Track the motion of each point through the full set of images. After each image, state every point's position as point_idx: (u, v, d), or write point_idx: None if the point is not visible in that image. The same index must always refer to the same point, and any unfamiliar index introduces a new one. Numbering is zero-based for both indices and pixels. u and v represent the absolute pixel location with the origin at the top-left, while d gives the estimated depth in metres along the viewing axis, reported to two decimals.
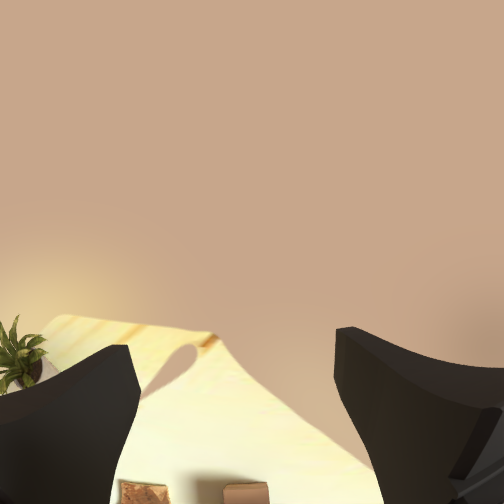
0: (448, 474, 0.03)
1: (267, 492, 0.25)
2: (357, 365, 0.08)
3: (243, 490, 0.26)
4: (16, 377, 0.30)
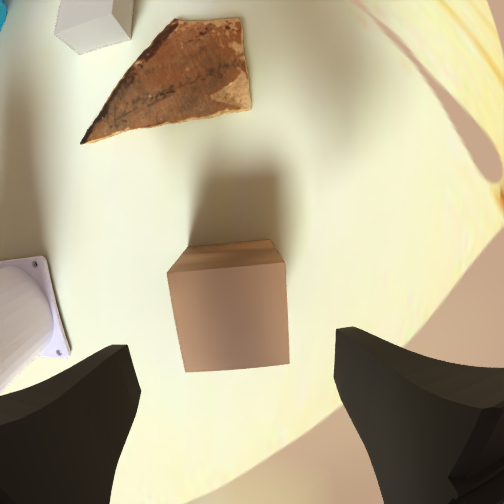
0: (448, 474, 0.03)
1: (277, 362, 0.14)
2: (357, 365, 0.08)
3: (284, 312, 0.13)
4: None
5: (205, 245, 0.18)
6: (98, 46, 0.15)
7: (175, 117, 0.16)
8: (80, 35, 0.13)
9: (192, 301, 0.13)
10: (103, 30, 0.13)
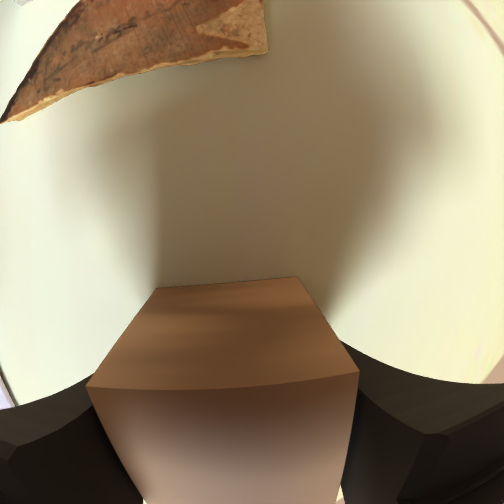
0: (397, 495, 0.03)
1: None
2: None
3: (342, 451, 0.05)
4: None
5: (186, 287, 0.10)
6: None
7: (134, 64, 0.08)
8: None
9: (147, 439, 0.05)
10: None
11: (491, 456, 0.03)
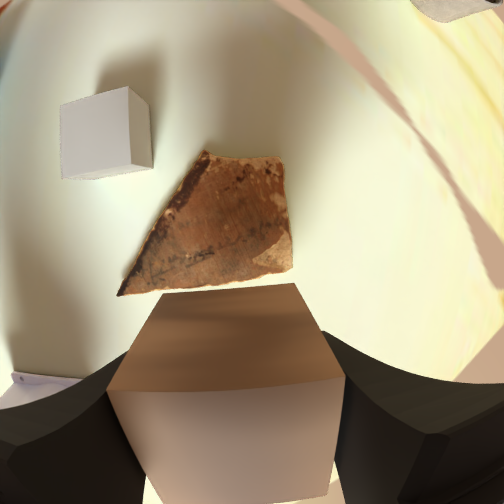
0: (397, 495, 0.03)
1: (308, 496, 0.07)
2: None
3: (331, 444, 0.06)
4: None
5: (190, 292, 0.11)
6: (115, 174, 0.16)
7: (217, 280, 0.17)
8: (94, 174, 0.14)
9: (160, 435, 0.06)
10: (121, 169, 0.15)
11: (492, 456, 0.03)
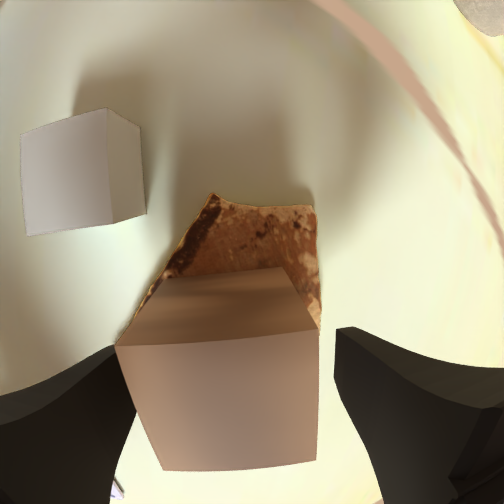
0: (448, 474, 0.03)
1: (298, 460, 0.08)
2: (357, 365, 0.08)
3: (314, 401, 0.07)
4: None
5: (189, 277, 0.13)
6: None
7: None
8: None
9: (160, 389, 0.07)
10: None
11: None
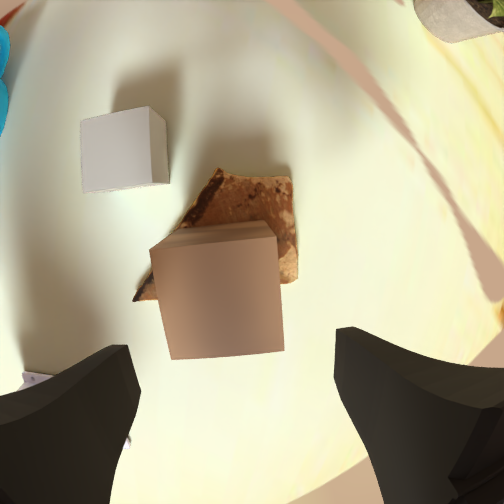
0: (448, 474, 0.03)
1: (270, 349, 0.13)
2: (357, 365, 0.08)
3: (277, 292, 0.12)
4: None
5: (196, 227, 0.17)
6: None
7: None
8: (114, 189, 0.15)
9: (176, 280, 0.12)
10: (140, 185, 0.16)
11: None
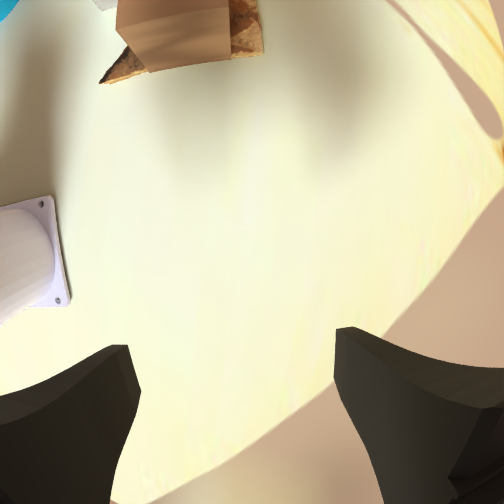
0: (448, 474, 0.03)
1: (214, 6, 0.10)
2: (357, 365, 0.08)
3: None
4: None
5: None
6: None
7: None
8: None
9: None
10: None
11: None
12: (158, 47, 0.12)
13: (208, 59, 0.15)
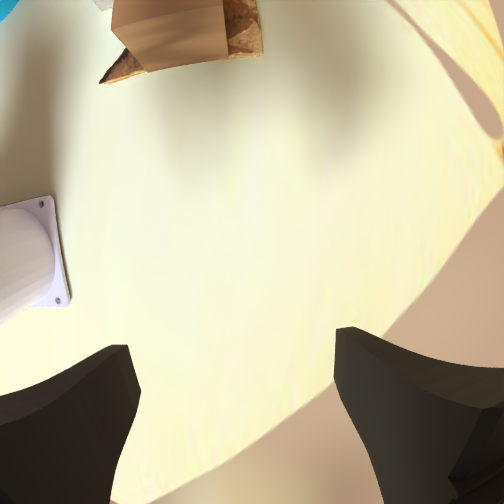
0: (448, 474, 0.03)
1: (208, 5, 0.09)
2: (357, 365, 0.08)
3: None
4: None
5: None
6: None
7: None
8: None
9: None
10: None
11: None
12: (154, 47, 0.12)
13: (205, 59, 0.15)
